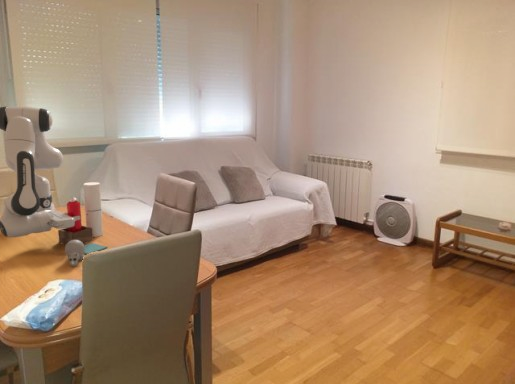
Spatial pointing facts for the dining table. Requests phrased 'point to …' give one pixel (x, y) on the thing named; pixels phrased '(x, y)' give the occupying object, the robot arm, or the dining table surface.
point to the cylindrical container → (93, 208)
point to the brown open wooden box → (75, 235)
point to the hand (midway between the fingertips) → (76, 215)
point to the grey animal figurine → (75, 251)
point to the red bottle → (74, 214)
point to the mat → (93, 248)
